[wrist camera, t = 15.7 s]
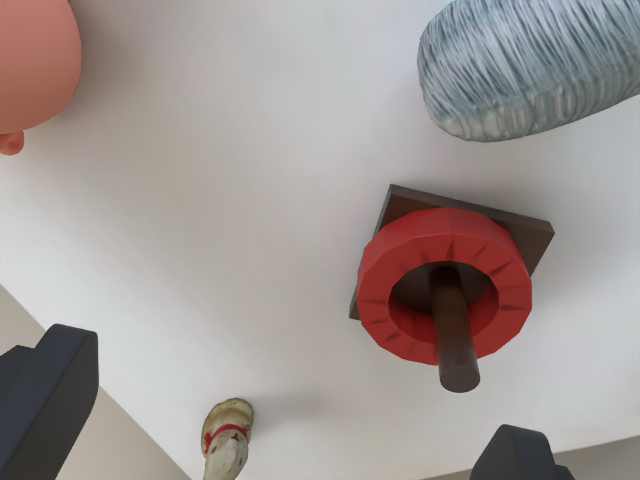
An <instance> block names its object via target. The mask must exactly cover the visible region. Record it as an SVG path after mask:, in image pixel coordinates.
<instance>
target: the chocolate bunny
mask: <svg viewBox="0 0 640 480" xmlns="http://www.w3.org/2000/svg"><path fill="white" fill-rule="evenodd" d="M253 413H254V412H253V409H252V407H251V405H250V404H249V403H247V402H245V401H243V400H241V399H237V398H236V399H228V400H226V401H225V402H223V403H219V404H217V405H216V406H214V408H213V409H212V410H211V412H210V413H209V415H208V417H207V418H206V420H205V422H204V425H203V428H202V435H201V449H202V453H203V455H204V457H205V458H206V463H205V474H204V478H203V480H235V478H236V477H237V476H238V475H239V473H240V472H241V470H242V468H243V467H244V465H245V463H246V461H247V458H248V444H249V441H250V434H251V426H252V424H253Z"/></svg>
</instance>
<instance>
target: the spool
mask: <svg viewBox="0 0 640 480" xmlns="http://www.w3.org/2000/svg"><path fill="white" fill-rule="evenodd" d="M417 65H418V72H419V79H420V86H421V88H422V91H423V98H424V101H425V105H426V108H427V111H428V113H429V115H430V118H431V120H432V121H433V122H434V123H435V124H436V125H437V126H438V127H439V128H441V129H442V130H444V131H445V132H447V133H449V134H450V135H453V136H455V137H458V138H460V139H463V140H466V141H477V142H484V143H485V142H497V141H505V140H511V139H518V138H522V137H525V136H529V135H533V134H538V133H541V132H544V131H548V130H551V129H554V128H557V127H560V126H563V125H566V124H569V123H572V122H575V121H577V120H580V119H582V118H585V117H587V116H590V115H592V114H595V113H598V112H600V111H603V110H605V109H608V108H610V107H612V106H614V105H616V104H618V103H620V102H622V101H624V100H626V99H628V98H630V97H633V96H636V95H638V94H640V0H454V1H453V2H451V3H450V4H449V5H448V6H447V7H446V8H445V9H443V10H442V11H441V12H440V13H439V14H438V15H436V16H435V17H434V18H433V19H432V20H431V21H430V22H429V24H428V25H427V27H426V29H425V30H424V32H423V34H422V36H421V39H420V44H419V49H418V59H417Z"/></svg>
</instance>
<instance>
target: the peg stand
mask: <svg viewBox="0 0 640 480" xmlns="http://www.w3.org/2000/svg"><path fill="white" fill-rule="evenodd" d="M439 207H453V208H458V209H463V210H468V211H473V212H477V213H482V214H483V215H485V216H487V217H488V218H490V219H491V220H493V221H494V222H496V223H497V224H499V225H500V226H502V227H503V228H505V229H506V230H507V231H508V232H509V234H510V236H511V237H512V239H513V241H514V242H515V244H516V246H517V248H518V249H519V251H520V253H521V255H522V258H523V260H524V263H525V266H526V268H527V271H528V274H529V277H531V275H532V274H533V272H534V270H535V268H536V266H537V265H538V263H539V261H540V259H541V258H542V256H543V254H544V252H545V250H546V249H547V247H548V245H549V243H550V241H551V240H552V238H553V236H554V234H555V232H554V230H553V228H552V226H551V224H550V222H547V221H542V220H538V219H534V218H530V217H526V216H522V215H517V214H513V213H509V212H505V211H501V210H496V209H492V208H488V207H484V206H480V205H476V204H471V203H467V202H463V201H459V200H455V199H450V198H446V197H442V196H438V195H434V194H430V193H425V192H421V191H417V190H413V189H409V188H404V187H400V186H396V185H392V184H390V186H389V189H388V193H387V196H386V199H385V202H384V205H383V208H382V211H381V214H380V217H379V220H378V223H377V226H376V229H375V232H374V235H373V238H374V237H375V236H376V234H377V233H378V232H379V231H380V230H381V229H382V228H383V227H384V226H385V225H387V224H389V223H391V222H393V221H395V220H397V219H399V218H401V217H403V216H405V215H407V214H409V213H411V212H412V211H417V210H424V209H432V208H439ZM373 238H372V239H373ZM490 280H491V279H490V277H489V276H488V275H487V274H485V273H484V272H482V271H480V270H479V269H477V268H476V267H474V266H472V265H471V264H466V263H461V262H456V261H451V260H447V261H438V262H429V263H425V264H423V265H420V266H418V267H416V268H414V269H412V270H410V271H407V272H406V273H405V274H404V275H403V276H402V277H401V278H400V279H399V280H398V281H397V282H396V283H395V284H394V285H393V287H392V290H391V292H392V293H393V294H394V295H395V297H396V298H397V299H398V301H399V302H400V303H402V304H404V305H406V306H407V307H409V308H411V309H412V310H414V311H417V312H422V313H427V314H431V315H433V324H434V332H435V341H436V350H437V359H438V367H439V376H440V382H441V385H442V386H443V387H444V388H445V389H447V390H448V391H451V392H455V393H464V392H468V391H471V390H473V389H474V388H476V387H477V386H478V384H479V382H480V373H479V368H478V363H477V358H476V353H475V348H474V343H473V337H472V332H471V327H470V322H469V317H468V312H467V307H468V306H471V305H472V304H473V303H474V302H475V301H477V300H478V299H479V298H480V297H481V296H482V295H483V294H484V293H485V291H486V288H487V286H488V284H489V282H490ZM356 297H357V286H356V289H355V292H354V295H353V298H352V301H351V304H350V311H349V318H351V319H355V320H360V321H361V319H360V315H359V310H358V306H357V302H356Z"/></svg>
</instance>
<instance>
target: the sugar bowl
mask: <svg viewBox="0 0 640 480" xmlns="http://www.w3.org/2000/svg"><path fill="white" fill-rule="evenodd" d="M81 64H82V48H81V41H80V34H79V30H78V27H77V23H76V20H75V17H74V14H73V12H72V9H71V7H70V5H69V3H68V1H67V0H0V153H1V154H4V155H14V154H17V153H19V152H20V151H21V150H22V148H23V146H24V133H23V130H25V129H28V128H31V127H34V126H37V125H39V124H41V123H43V122H45V121H47V120H48V119H50V118H51V117H53V116H54V115H56V114H57V113H58V112H60V111H61V110H62V109H63V108H64V107H65V106H66V105H67V103H68V102H69V100H70V99H71V97H72V96H73V94H74V91H75V89H76V87H77V84H78V80H79V77H80V72H81Z"/></svg>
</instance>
